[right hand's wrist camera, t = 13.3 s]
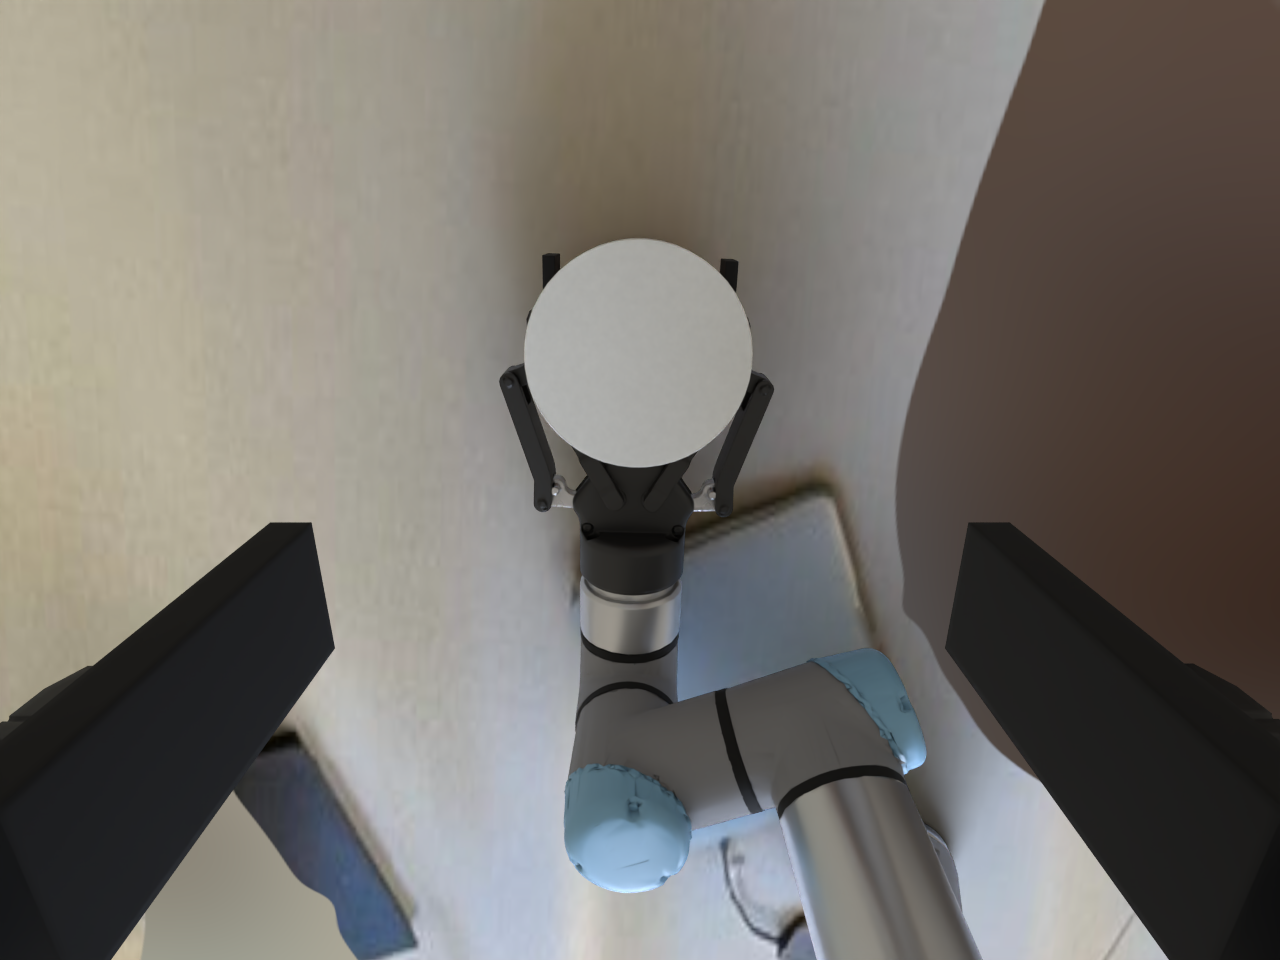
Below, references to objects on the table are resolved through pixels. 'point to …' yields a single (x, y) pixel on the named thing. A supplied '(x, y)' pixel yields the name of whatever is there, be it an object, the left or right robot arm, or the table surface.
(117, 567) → the table surface
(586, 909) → the table surface
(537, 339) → the lid
